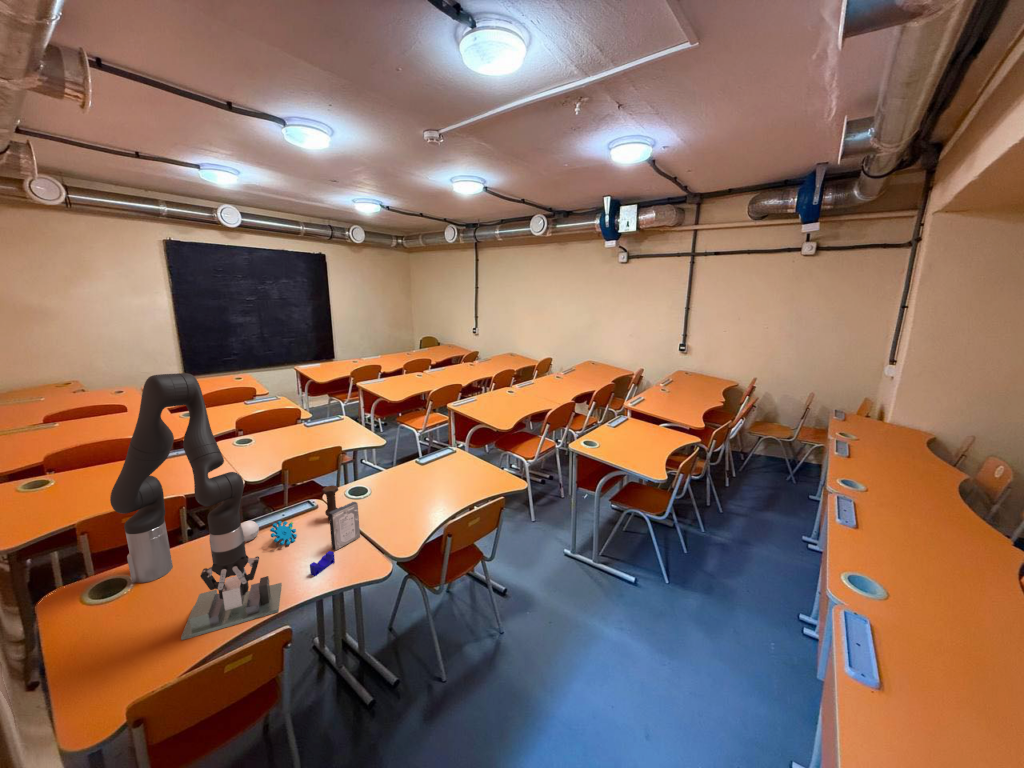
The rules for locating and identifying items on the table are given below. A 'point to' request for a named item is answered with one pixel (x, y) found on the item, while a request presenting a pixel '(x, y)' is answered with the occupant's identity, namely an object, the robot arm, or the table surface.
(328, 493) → the bolt
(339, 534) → the disk drive
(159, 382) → the robot arm
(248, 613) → the free jaw
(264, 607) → the vise
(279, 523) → the gear
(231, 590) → the steel block
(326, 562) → the cable holder
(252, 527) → the seamed sphere
